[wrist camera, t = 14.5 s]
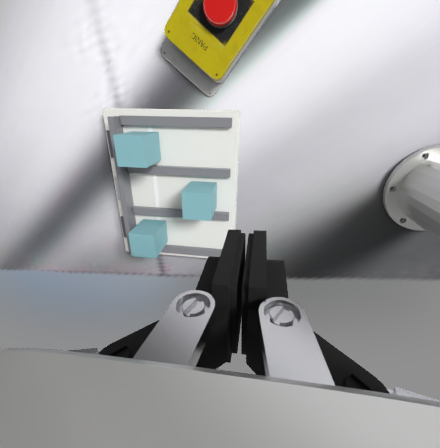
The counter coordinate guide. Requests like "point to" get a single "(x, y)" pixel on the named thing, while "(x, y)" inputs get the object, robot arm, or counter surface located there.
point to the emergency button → (212, 37)
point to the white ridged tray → (179, 174)
